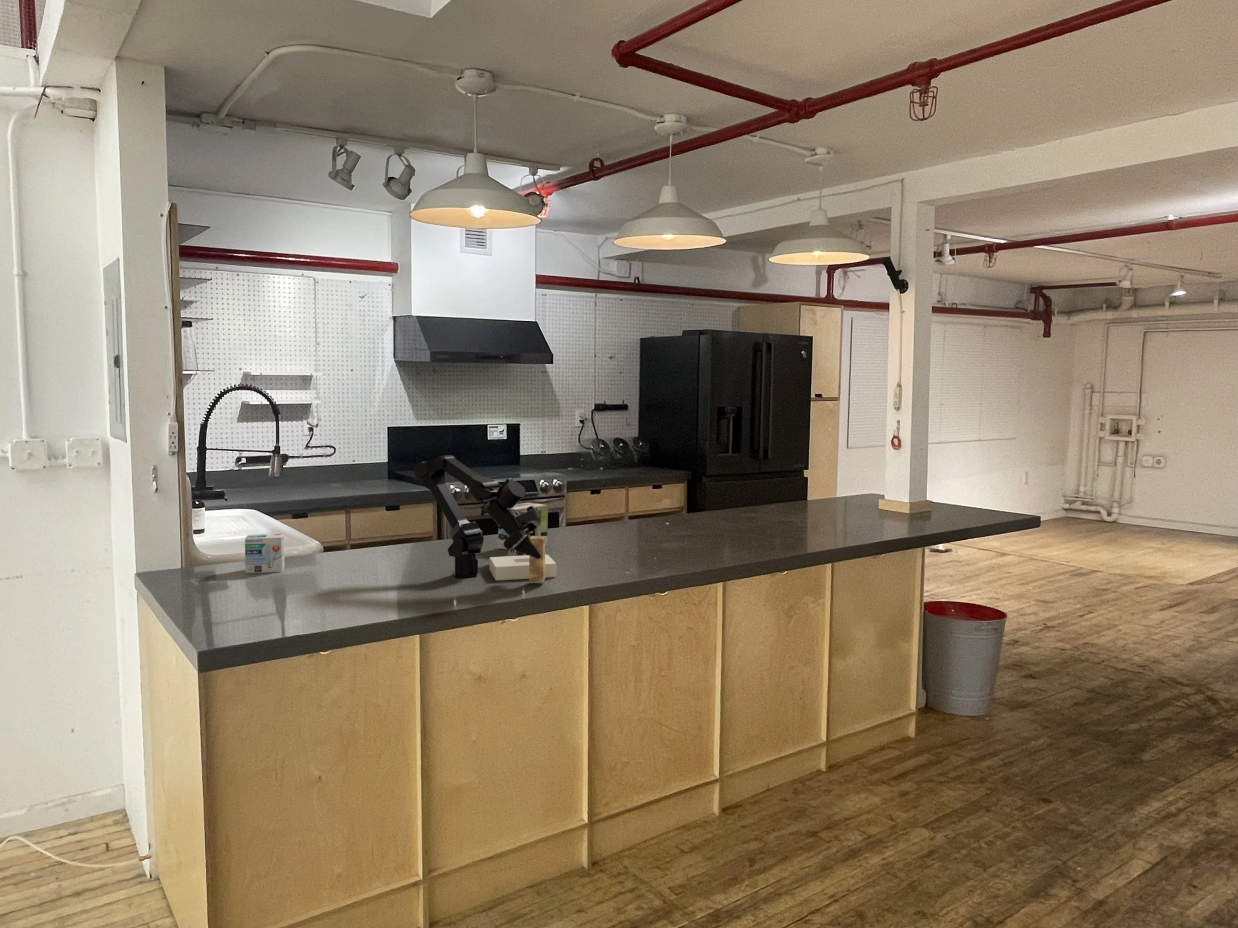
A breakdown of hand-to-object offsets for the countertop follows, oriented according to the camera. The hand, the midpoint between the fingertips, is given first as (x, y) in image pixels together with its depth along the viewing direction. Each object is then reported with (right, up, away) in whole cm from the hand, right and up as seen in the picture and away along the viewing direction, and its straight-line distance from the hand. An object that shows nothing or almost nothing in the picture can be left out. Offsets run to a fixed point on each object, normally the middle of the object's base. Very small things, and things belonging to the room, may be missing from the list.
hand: (541, 556), depth 254 cm
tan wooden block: (-1, -7, +1) cm, 7 cm away
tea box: (-11, -3, +54) cm, 55 cm away
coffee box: (-9, -5, +34) cm, 36 cm away
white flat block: (-7, -7, +14) cm, 17 cm away
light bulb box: (-85, -6, +16) cm, 87 cm away
